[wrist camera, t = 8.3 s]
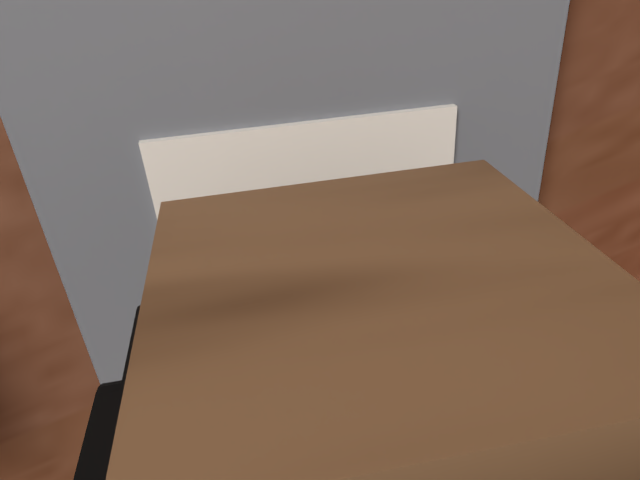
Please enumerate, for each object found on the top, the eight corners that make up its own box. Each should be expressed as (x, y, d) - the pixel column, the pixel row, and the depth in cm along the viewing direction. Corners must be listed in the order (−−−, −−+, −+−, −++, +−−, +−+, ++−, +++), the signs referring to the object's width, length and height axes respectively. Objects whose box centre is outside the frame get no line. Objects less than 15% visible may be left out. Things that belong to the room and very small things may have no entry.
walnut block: (461, 388, 13) (626, 682, 8) (216, 434, 12) (219, 792, 7) (484, 159, 10) (777, 390, 5) (161, 201, 9) (95, 529, 4)
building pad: (491, 386, 18) (507, 413, 17) (140, 452, 17) (135, 486, 16) (554, -81, 11) (589, -84, 10) (-34, -39, 10) (-62, -37, 9)
